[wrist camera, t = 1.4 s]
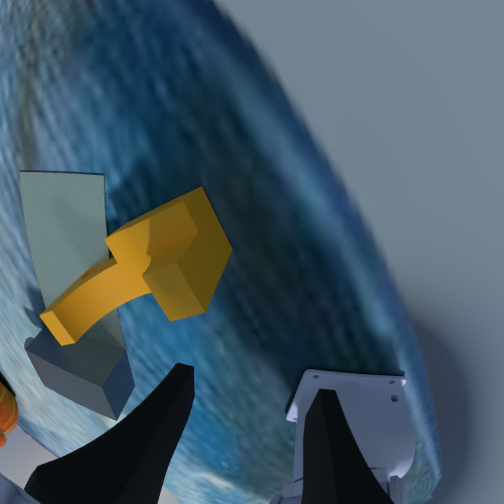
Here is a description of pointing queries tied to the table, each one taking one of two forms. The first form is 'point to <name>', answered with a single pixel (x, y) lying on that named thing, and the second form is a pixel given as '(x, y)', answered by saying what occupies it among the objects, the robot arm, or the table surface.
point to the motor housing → (61, 277)
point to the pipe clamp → (149, 267)
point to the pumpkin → (7, 413)
